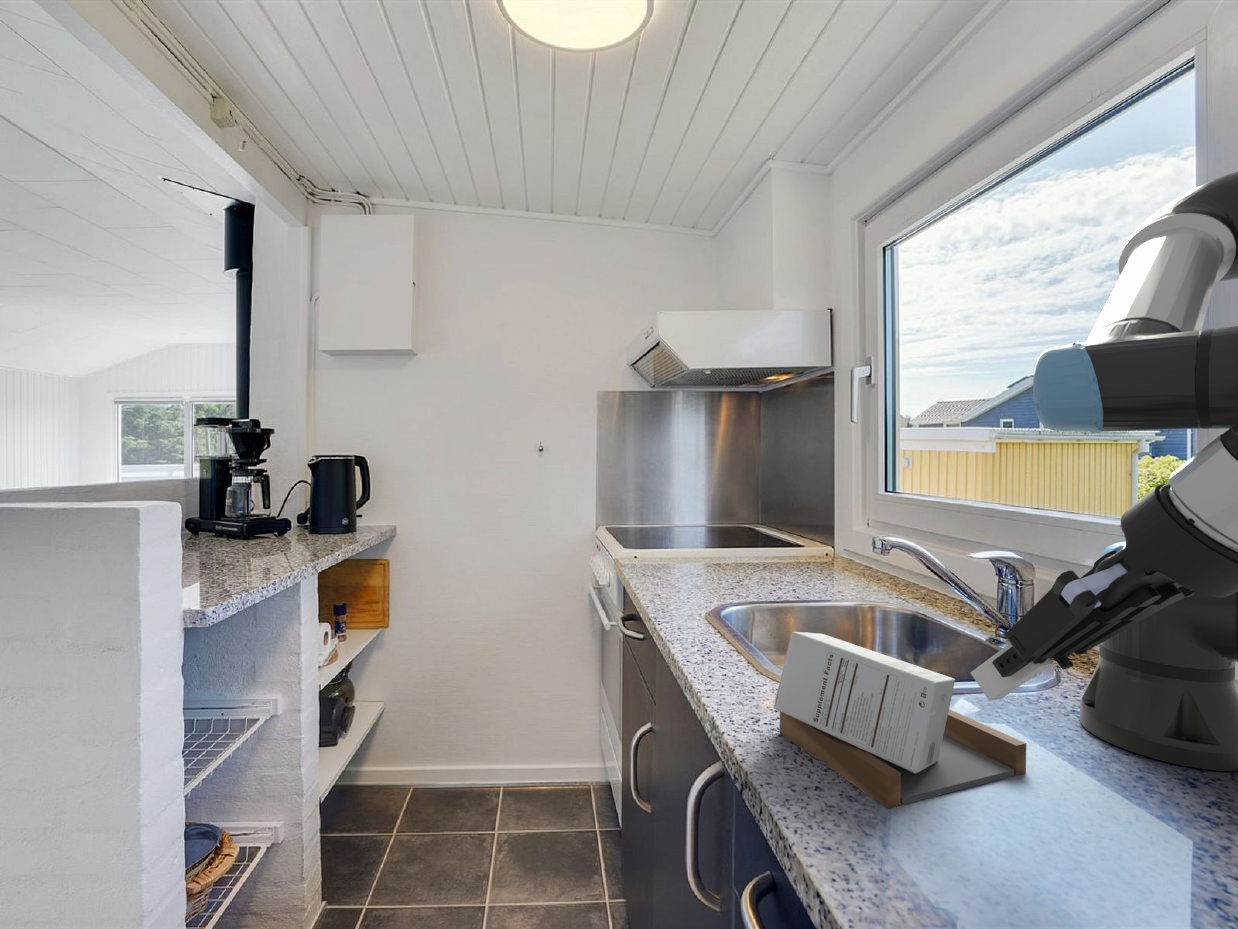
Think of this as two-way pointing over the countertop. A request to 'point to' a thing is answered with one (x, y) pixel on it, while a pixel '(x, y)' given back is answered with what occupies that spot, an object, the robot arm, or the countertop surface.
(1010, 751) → the rails
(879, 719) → the supplement box
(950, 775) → the mat
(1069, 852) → the countertop surface
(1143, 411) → the robot arm
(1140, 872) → the countertop surface
